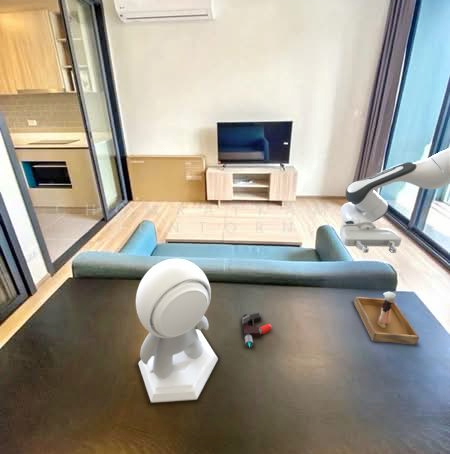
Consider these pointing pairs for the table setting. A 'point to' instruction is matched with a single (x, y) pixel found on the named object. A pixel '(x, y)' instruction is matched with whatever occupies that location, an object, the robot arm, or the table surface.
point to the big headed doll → (174, 331)
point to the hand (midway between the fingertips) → (380, 251)
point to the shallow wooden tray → (394, 331)
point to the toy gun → (253, 328)
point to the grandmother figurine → (386, 309)
